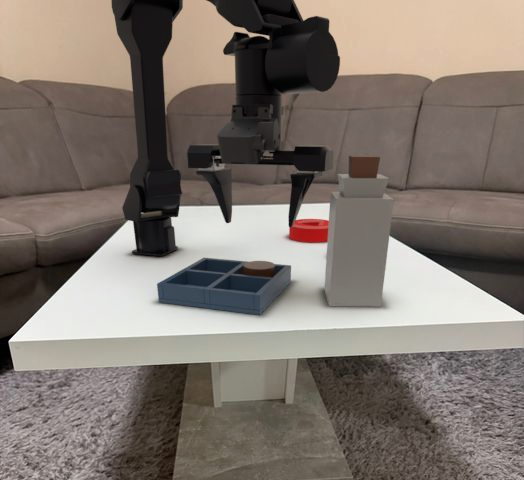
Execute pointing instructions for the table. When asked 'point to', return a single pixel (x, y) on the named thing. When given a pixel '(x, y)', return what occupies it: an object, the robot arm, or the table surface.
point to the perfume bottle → (358, 235)
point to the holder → (223, 286)
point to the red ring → (309, 230)
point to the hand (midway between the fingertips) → (259, 224)
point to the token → (259, 268)
